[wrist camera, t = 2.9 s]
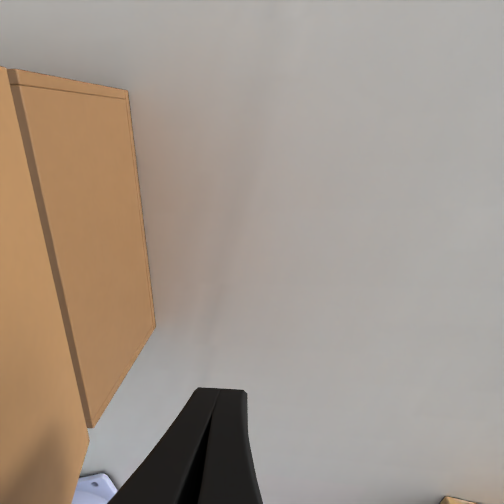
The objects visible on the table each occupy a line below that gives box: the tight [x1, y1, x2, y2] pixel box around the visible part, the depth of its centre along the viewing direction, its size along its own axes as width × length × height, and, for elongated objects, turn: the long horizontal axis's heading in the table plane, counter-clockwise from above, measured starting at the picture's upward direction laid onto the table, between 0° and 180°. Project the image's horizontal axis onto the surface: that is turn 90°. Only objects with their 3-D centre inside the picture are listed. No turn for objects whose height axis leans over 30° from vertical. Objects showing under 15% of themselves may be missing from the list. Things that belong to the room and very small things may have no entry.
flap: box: [0, 66, 90, 504], centre depth 8 cm, size 6×13×1 cm
